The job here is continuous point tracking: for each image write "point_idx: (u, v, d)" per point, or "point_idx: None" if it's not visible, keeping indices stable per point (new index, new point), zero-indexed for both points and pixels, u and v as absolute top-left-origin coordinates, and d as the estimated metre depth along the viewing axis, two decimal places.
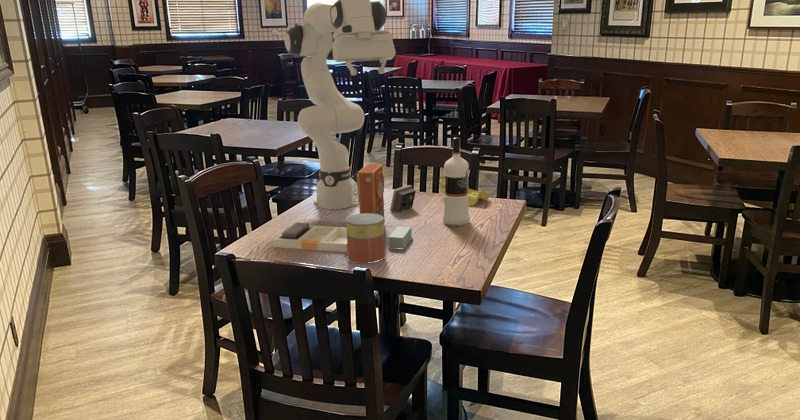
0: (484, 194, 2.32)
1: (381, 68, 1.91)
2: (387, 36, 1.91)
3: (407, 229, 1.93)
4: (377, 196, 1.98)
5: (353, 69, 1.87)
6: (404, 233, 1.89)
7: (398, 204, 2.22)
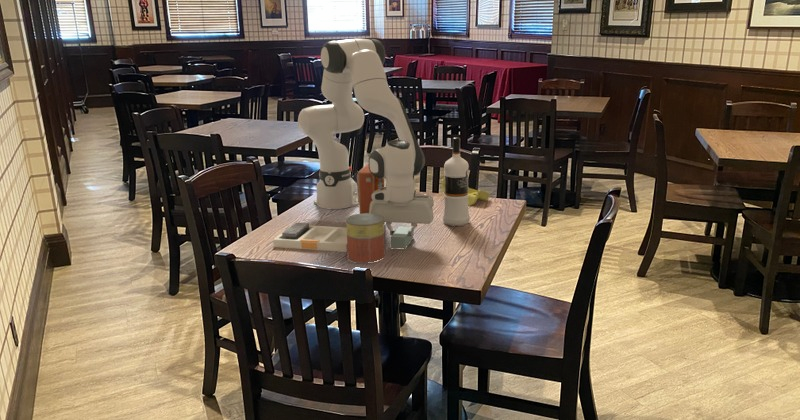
0: (483, 194, 2.32)
1: (409, 232, 1.89)
2: (424, 203, 1.84)
3: (408, 229, 1.93)
4: None
5: (391, 231, 1.90)
6: (406, 233, 1.89)
7: None
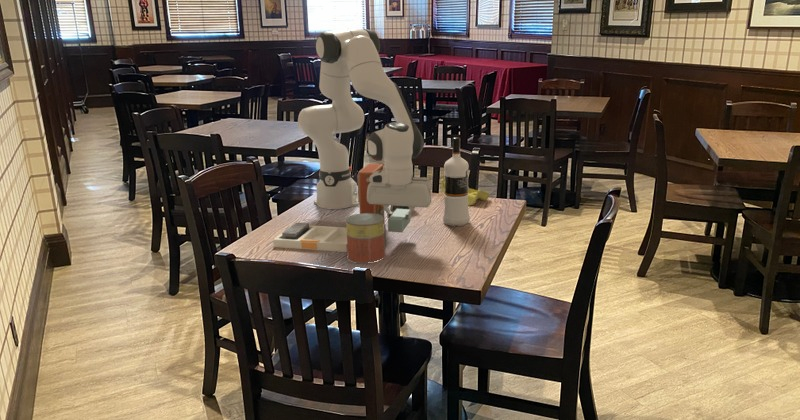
0: (483, 194, 2.32)
1: (406, 216, 1.88)
2: (422, 187, 1.83)
3: (406, 211, 1.92)
4: None
5: (388, 214, 1.89)
6: (403, 215, 1.88)
7: None
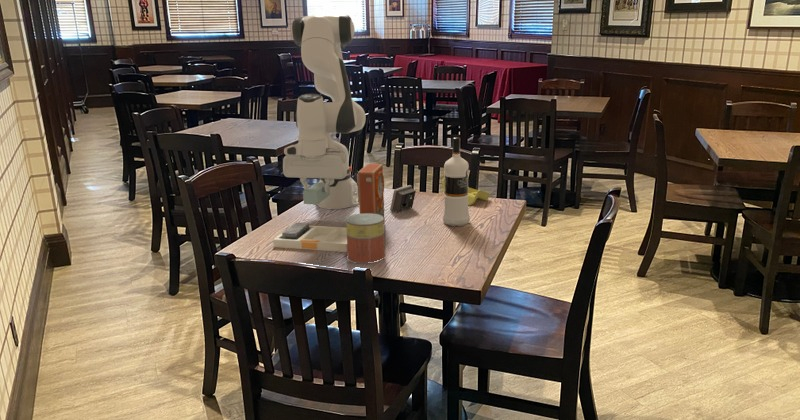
0: (483, 194, 2.32)
1: (323, 188, 1.87)
2: (336, 158, 1.82)
3: (324, 185, 1.91)
4: (377, 196, 1.98)
5: (305, 187, 1.89)
6: (319, 188, 1.87)
7: (398, 204, 2.22)
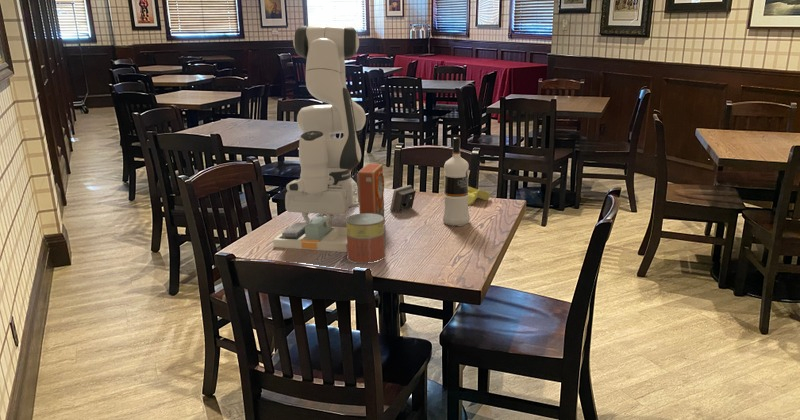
0: (483, 194, 2.33)
1: (324, 223, 1.90)
2: (337, 194, 1.86)
3: (326, 219, 1.94)
4: (377, 196, 1.98)
5: (307, 222, 1.92)
6: (321, 223, 1.90)
7: (398, 204, 2.22)
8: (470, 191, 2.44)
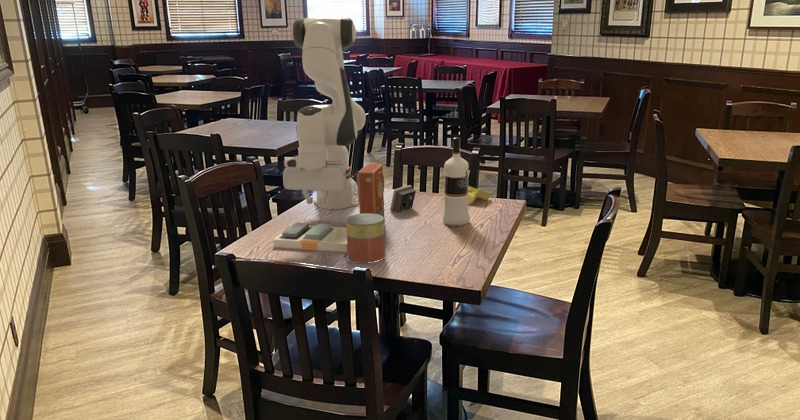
0: (483, 194, 2.33)
1: (320, 200, 1.89)
2: (336, 170, 1.83)
3: (326, 226, 1.95)
4: (377, 196, 1.98)
5: (307, 199, 1.90)
6: (321, 230, 1.91)
7: (398, 204, 2.22)
8: (471, 191, 2.44)
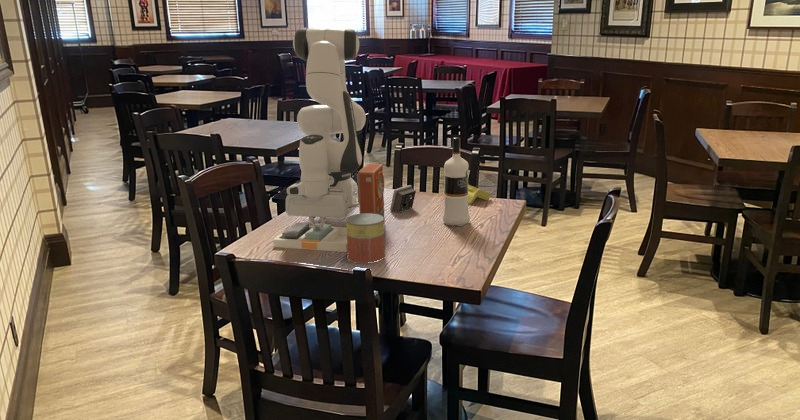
0: (483, 194, 2.33)
1: (318, 226, 1.91)
2: (338, 198, 1.86)
3: (326, 226, 1.95)
4: (377, 196, 1.98)
5: (314, 226, 1.92)
6: (321, 230, 1.91)
7: (398, 204, 2.22)
8: (472, 191, 2.45)
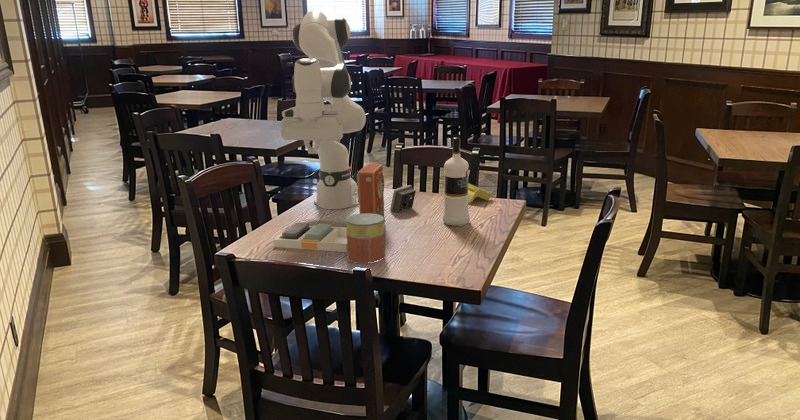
0: (483, 194, 2.33)
1: (313, 150, 1.95)
2: (332, 120, 1.89)
3: (326, 226, 1.95)
4: (377, 196, 1.98)
5: (308, 149, 1.95)
6: (321, 230, 1.91)
7: (398, 204, 2.22)
8: (474, 190, 2.45)
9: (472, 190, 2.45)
